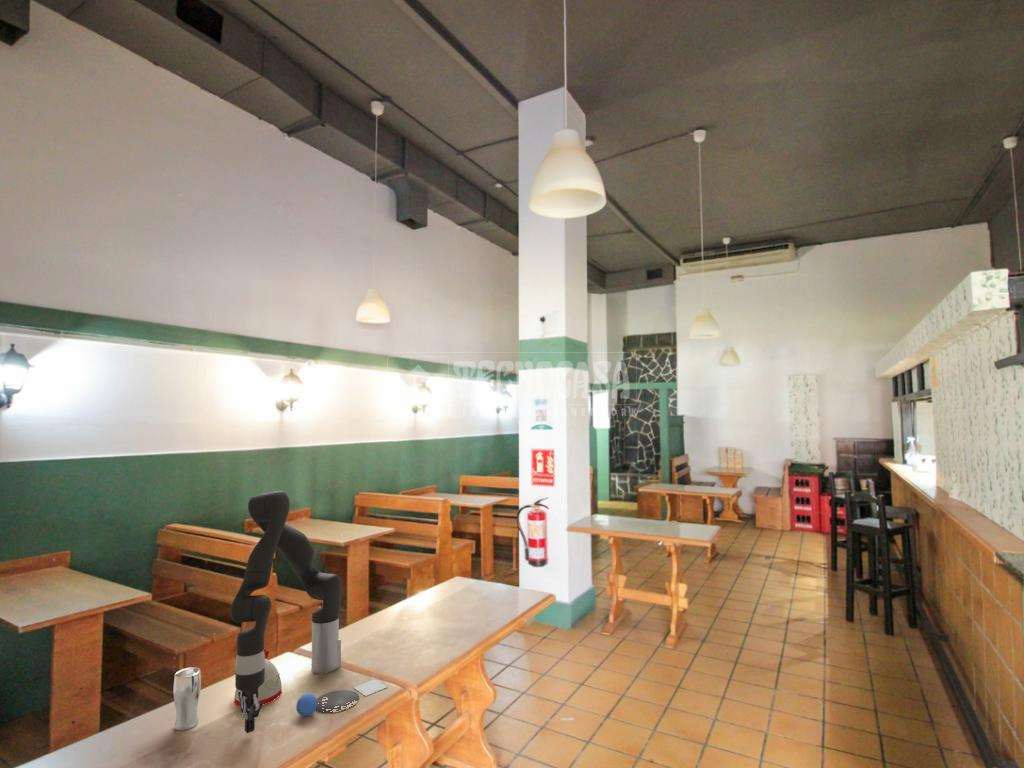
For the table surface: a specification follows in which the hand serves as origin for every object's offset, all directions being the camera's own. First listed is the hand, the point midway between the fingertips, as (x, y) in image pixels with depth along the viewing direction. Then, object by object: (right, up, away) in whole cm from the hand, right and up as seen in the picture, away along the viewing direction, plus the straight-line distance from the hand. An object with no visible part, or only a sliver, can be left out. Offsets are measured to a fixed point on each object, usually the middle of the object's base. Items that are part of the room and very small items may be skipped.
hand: (249, 731), depth 151 cm
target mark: (+19, -2, +18) cm, 26 cm away
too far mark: (+27, -3, +26) cm, 38 cm away
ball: (+12, +1, +11) cm, 16 cm away
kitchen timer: (-8, -4, +23) cm, 24 cm away
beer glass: (-22, -3, +7) cm, 23 cm away
